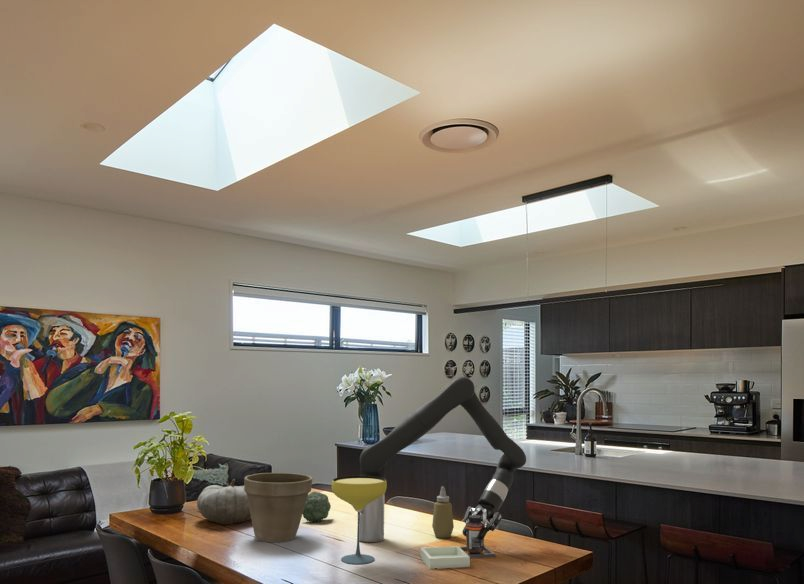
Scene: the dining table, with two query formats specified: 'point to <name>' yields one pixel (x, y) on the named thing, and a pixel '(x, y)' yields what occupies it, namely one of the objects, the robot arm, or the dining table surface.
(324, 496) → the vegetable
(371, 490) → the cocktail glass
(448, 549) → the dish
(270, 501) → the plant pot
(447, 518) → the squeeze bottle
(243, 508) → the gourd
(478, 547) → the supplement bottle
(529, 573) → the dining table surface
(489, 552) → the socket collar
